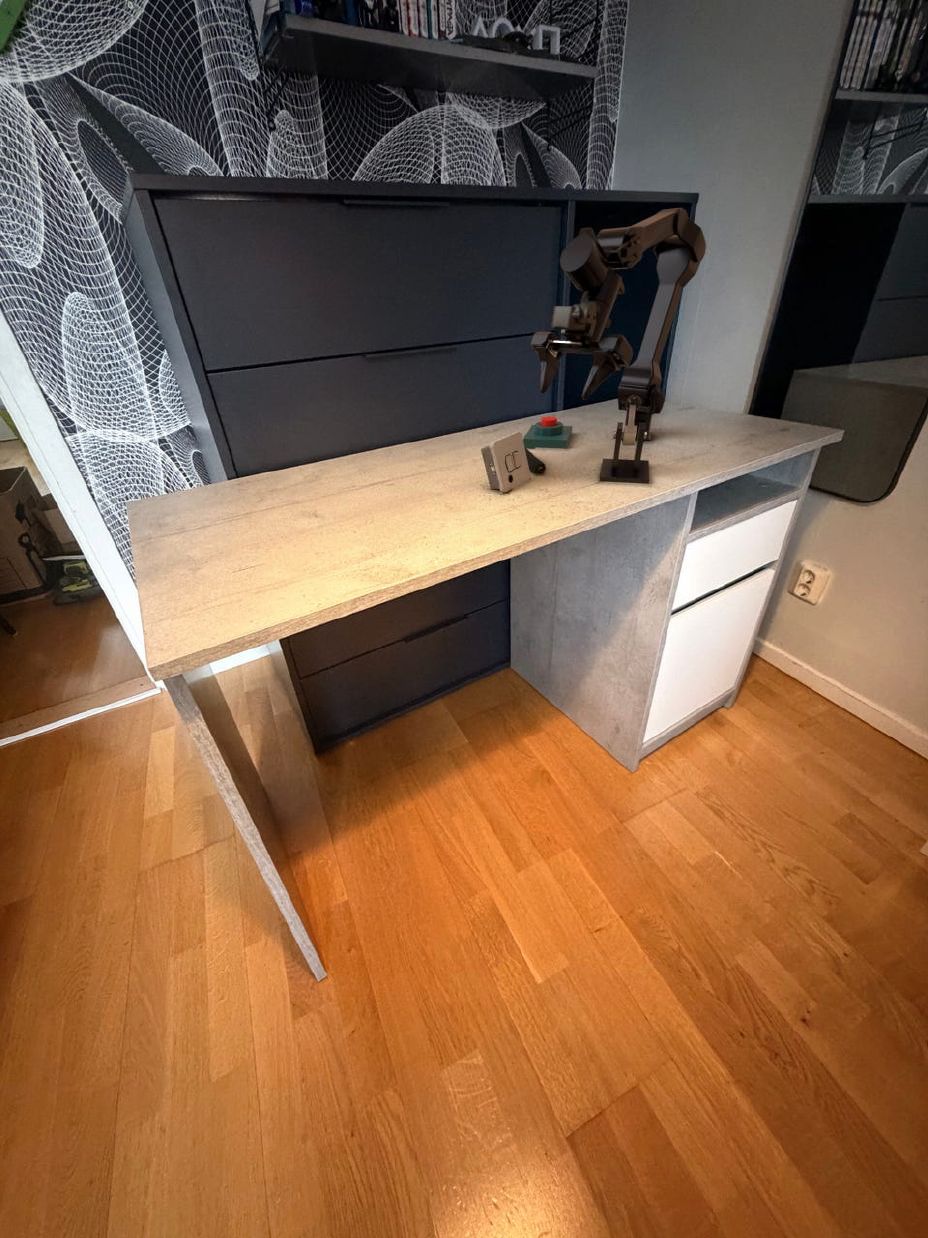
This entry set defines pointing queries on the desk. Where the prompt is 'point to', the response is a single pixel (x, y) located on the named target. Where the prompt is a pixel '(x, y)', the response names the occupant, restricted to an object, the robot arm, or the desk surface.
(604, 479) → the bracket
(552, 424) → the button
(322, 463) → the desk surface
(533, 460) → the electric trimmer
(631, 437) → the lever
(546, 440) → the button block
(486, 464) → the electrical switch
